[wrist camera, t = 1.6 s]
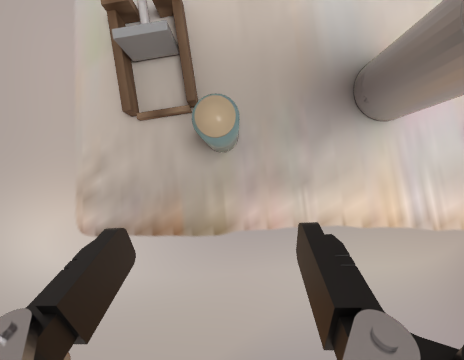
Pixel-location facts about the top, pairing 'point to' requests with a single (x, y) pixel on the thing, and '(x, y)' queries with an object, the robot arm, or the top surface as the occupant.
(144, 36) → the pusher
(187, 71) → the brown rectangular open frame
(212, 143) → the jar
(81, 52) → the top surface
